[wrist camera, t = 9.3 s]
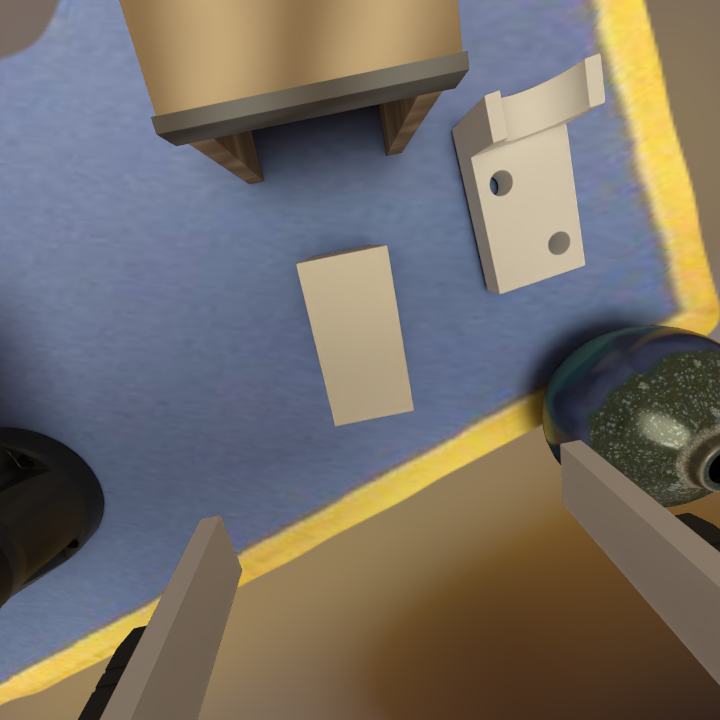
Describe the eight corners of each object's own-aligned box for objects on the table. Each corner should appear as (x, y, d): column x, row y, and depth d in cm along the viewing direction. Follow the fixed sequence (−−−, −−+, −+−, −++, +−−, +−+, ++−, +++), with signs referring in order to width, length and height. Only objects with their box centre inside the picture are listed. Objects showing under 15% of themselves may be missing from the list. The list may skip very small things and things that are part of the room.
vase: (674, 430, 38) (840, 523, 25) (532, 474, 39) (625, 585, 26) (665, 291, 34) (863, 319, 21) (504, 343, 34) (601, 401, 22)
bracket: (448, 133, 29) (484, 95, 22) (534, 101, 29) (600, 53, 21) (483, 289, 33) (523, 301, 26) (559, 263, 32) (622, 268, 25)
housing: (249, 190, 29) (156, 134, 14) (210, 41, 26) (40, -224, 11) (403, 158, 29) (469, 69, 14) (382, 5, 26) (437, -310, 11)
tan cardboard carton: (336, 365, 34) (334, 426, 23) (311, 256, 31) (295, 264, 20) (389, 354, 34) (414, 410, 23) (370, 245, 31) (387, 245, 19)
